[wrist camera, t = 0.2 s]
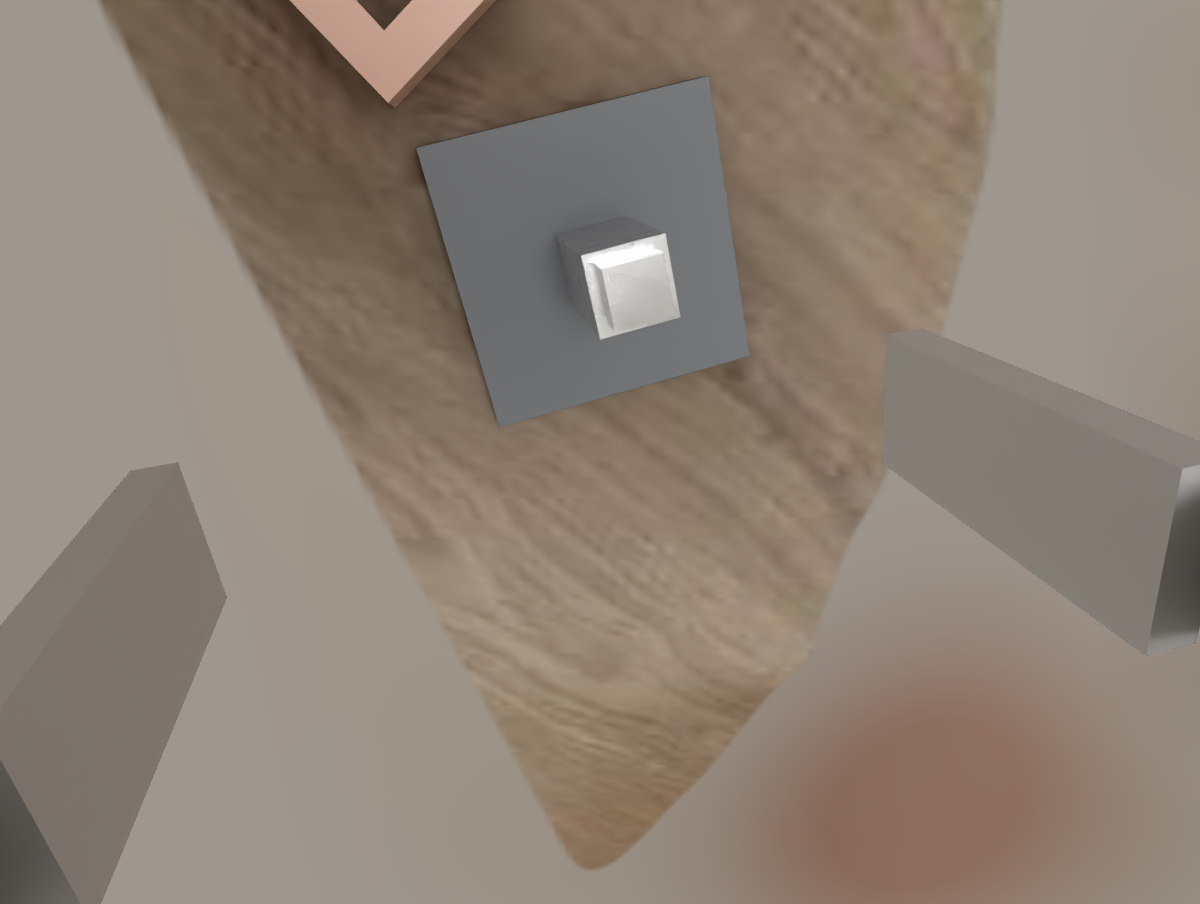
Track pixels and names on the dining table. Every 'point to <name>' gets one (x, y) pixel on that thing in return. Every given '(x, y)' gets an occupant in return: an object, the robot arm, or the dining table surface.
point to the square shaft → (618, 275)
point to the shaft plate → (576, 199)
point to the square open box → (394, 38)
